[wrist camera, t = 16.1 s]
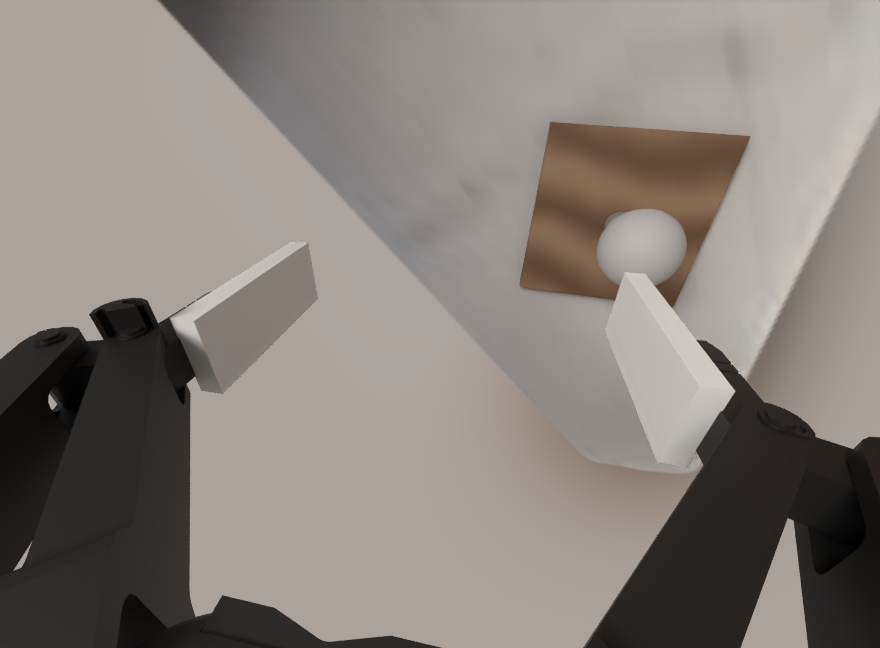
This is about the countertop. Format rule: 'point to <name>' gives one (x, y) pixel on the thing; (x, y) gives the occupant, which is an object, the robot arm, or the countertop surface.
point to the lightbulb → (641, 245)
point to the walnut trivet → (621, 198)
